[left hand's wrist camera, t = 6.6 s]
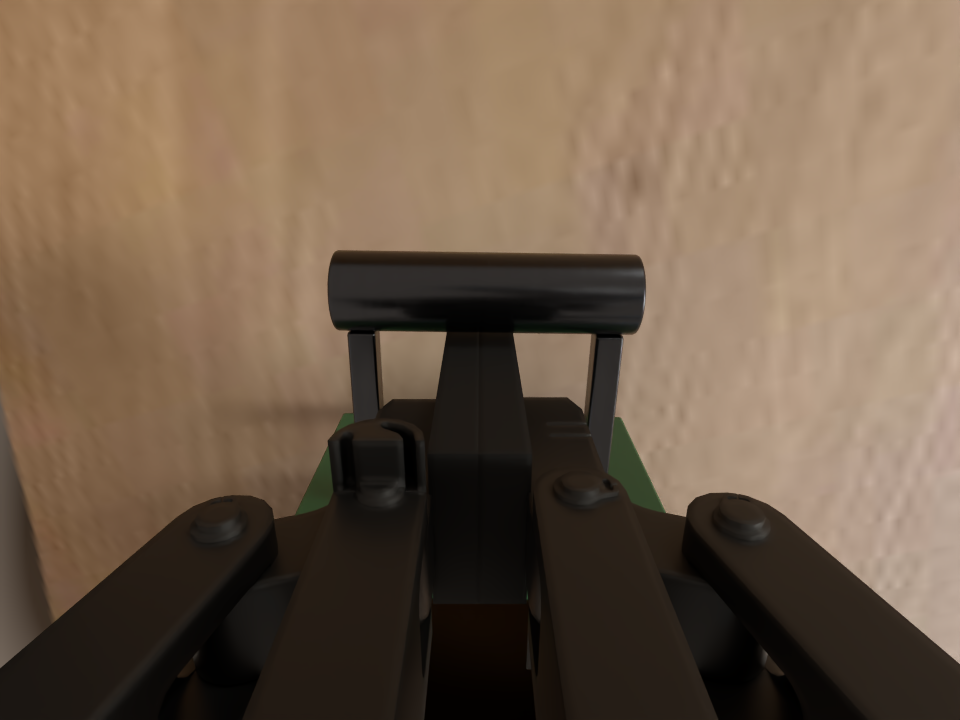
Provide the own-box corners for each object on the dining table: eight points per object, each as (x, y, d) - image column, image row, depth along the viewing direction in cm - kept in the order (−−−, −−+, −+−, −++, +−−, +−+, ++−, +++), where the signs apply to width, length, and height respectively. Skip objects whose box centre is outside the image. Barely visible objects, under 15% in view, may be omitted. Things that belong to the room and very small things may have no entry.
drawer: (326, 215, 16) (231, 271, 10) (644, 220, 16) (743, 278, 10) (376, 804, 26) (343, 1015, 20) (574, 807, 26) (603, 1019, 20)
